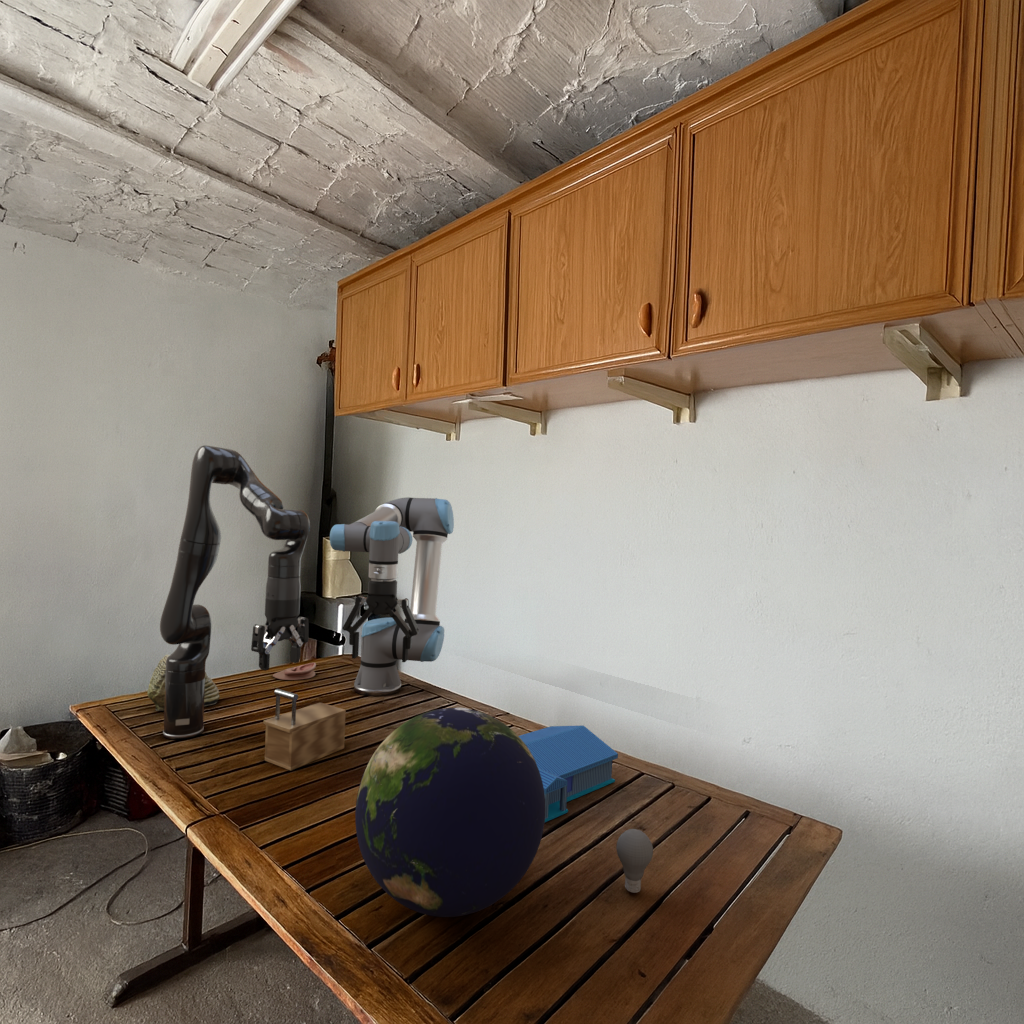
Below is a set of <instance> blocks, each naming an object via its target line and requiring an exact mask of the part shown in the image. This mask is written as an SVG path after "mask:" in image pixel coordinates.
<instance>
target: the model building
mask: <svg viewBox="0 0 1024 1024" xmlns="http://www.w3.org/2000/svg"><path fill="white" fill-rule="evenodd" d="M518 736H519V737H520V738H521V740H522V741H523V742H524V743H525V745H526V746H527V747H528V749H529V751H530V752H531V754H532V756H533V757H534V759H535V761H536V764H537V767H538V769H539V772H540V775H541V779H542V783H543V788H544V794H545V823H547V822H550V821H552V820H554V819H556V818H558V817H560V816H563V815H565V814H567V813H569V809H568V808H567V803H569V802H571V801H573V800H575V799H577V798H580V797H582V796H586V795H587V794H589V793H590V794H591V793H592V792H594V791H597V790H599V789H601V788H604V787H606V786H608V785H611V784H614V783H616V779H615V778H613V777H612V775H613V761H615V760H617V759H619V753H618V752H617V751H616V750H615V749H613V748H612V747H611V746H609V745H608V744H607V743H606V742H604V741H603V740H602V738H600V737H599V736H597V735H596V734H594V733H593V732H592V731H591V730H590V729H588V728H587V727H586V726H585V725H553V726H552V725H551V726H546V727H544V728H540V729H537V730H534V731H531V732H530V731H529V732H527V733H524V734H520V735H518Z"/></svg>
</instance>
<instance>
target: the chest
mask: <svg viewBox="0 0 1024 1024" xmlns="http://www.w3.org/2000/svg"><path fill="white" fill-rule="evenodd" d="M346 713H347V712H346ZM346 713H344V714H341V715H339V716H336V717H333V718H330V719H327V720H325V721H322V722H319V723H316V724H313V725H311V726H308V727H305V728H302V729H299V730H296V731H294V732H291V733H288V732H285V731H282V730H279V729H277V728H274V727H271V726H268V725H265V739H264V761H265V762H268V763H270V764H273V765H275V766H277V767H281V768H283V769H286V770H287V771H294V770H295V769H298V768H301V767H303V766H305V765H308V764H310V763H312V762H314V761H317V760H320V759H322V758H324V757H326V756H329V755H332V754H334V753H336V752H339V751H341V750H343V749H345V739H346Z"/></svg>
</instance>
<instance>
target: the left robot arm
mask: <svg viewBox="0 0 1024 1024" xmlns="http://www.w3.org/2000/svg"><path fill="white" fill-rule="evenodd" d="M212 484H217V485H231V486H232V487H234V488H236V489H238V490H239V492H238V496H239V501H240V503H241V505H242V506H243V508H244V509H245V510H246V511H247V512H249V513H250V514H251V515H252V516H253V517H254V518H255V520H256V522H257V524H258V526H259V529H260V531H261V533H262V534H263V536H265V537H266V538H267V539H270V540H273V541H285V543H284V545H282V547H280V548H279V549H276V550H273V551H271V552H270V553H269V555H268V560H267V578H266V584H265V602H264V616H265V618H266V619H265V623H264V624H257V623H255V624H254V625H253V627H252V635H251V647H250V650H251V652H254V653H258V668H260V670H261V671H269V670H270V660H271V658H270V657H271V654H270V652H271V650H272V648H273V647H275V646H276V645H277V643H278V642H282V641H285V640H286V641H289V642H290V644H291V645H290V654H289V655H290V658H289V661H290V662H291V663H293V664H298V663H300V659H301V650H302V647H303V645H304V644H305V643H306V644H308V642H309V634H310V633H309V631H310V630H309V629H310V628H309V626H310V625H309V618H308V617H304V616H300V614H301V613H300V610H301V591H302V589H301V561H302V556H303V554H304V550H305V547H306V545H307V541H308V537H309V534H310V532H311V531H310V530H311V522H310V518H309V516H308V514H307V512H305V511H304V510H302V509H295V508H294V509H293V508H291V509H290V508H289V509H288V508H287V509H285V508H284V503H283V501H282V500H281V498H280V497H279V496H278V495H277V494H275V493H274V492H273V491H272V490H271V489H270V488H268V487H267V486H266V485H265V484H264V483H263V482H262V481H261V480H260V479H259V477H258V476H257V475H256V473H255V472H254V471H253V469H252V468H251V466H250V465H249V464H248V462H247V461H246V459H245V458H244V456H242V454H241V453H240V452H238V451H237V450H234V449H230V448H226V447H219V446H213V445H207V444H205V445H201V446H199V447H198V448H197V450H196V451H195V453H194V455H193V460H192V463H191V469H190V480H189V490H188V499H187V506H186V510H185V511H186V512H185V517H184V522H183V527H182V531H181V534H180V539H179V545H178V550H177V556H176V562H175V566H174V571H173V575H172V580H171V584H170V587H169V591H168V594H167V596H166V600H165V604H164V606H163V610H162V613H161V616H160V621H159V632H160V636H161V638H162V641H164V642H165V643H166V644H168V645H173V646H174V645H175V646H176V645H177V646H176V648H175V650H174V651H173V652H172V653H170V654H169V655H170V656H169V657H168V658H167V660H166V674H165V705H164V710H163V730H162V737H164V738H166V739H169V740H185V739H190V738H191V739H192V738H194V737H197V736H199V735H202V734H203V732H204V730H205V729H204V727H205V725H204V722H205V721H204V718H205V706H204V693H205V672H206V664H207V663H206V662H207V659H208V657H209V654H210V649H211V648H210V647H211V639H212V617H211V614H210V612H209V610H208V609H207V608H206V607H205V606H204V605H201V604H196V603H195V599H196V596H197V594H198V591H199V590H200V587H201V586H202V584H203V583H204V581H205V580H206V578H207V577H208V575H210V573H211V571H212V570H213V568H214V566H215V564H216V562H217V559H218V556H219V551H220V547H221V541H222V532H221V529H220V526H219V523H218V521H217V518H216V515H215V514H214V512H213V509H212V506H211V491H212V490H211V489H212ZM194 603H195V604H194ZM296 629H297V630H296Z"/></svg>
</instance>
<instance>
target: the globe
mask: <svg viewBox="0 0 1024 1024" xmlns="http://www.w3.org/2000/svg"><path fill="white" fill-rule="evenodd" d="M519 736H520V735H518V734H517V733H516V732H515V731H514V730H513V729H512V728H510V726H508V725H507V724H505V723H504V722H502V721H500V720H499V719H498V718H496V717H494V716H493V715H492V716H491V715H490V714H488V713H486V712H482V711H479V710H475V709H471V708H468V707H467V708H466V707H446V708H445V707H444V708H438V709H433V710H430V711H427V712H423V713H421V714H419V715H416V716H414V717H412V718H410V719H408V720H407V721H404V723H402V724H401V725H400V726H398V727H397V728H395V729H394V730H393V731H392V732H390V734H388V735H387V737H386V738H385V739H384V740H383V741H382V742H381V743H380V744H379V746H378V747H377V748H376V749H375V751H374V753H373V754H372V756H371V757H370V759H369V761H368V763H367V766H366V768H365V770H364V772H363V774H362V777H361V780H360V782H359V786H358V791H357V796H356V801H355V811H354V812H355V813H354V815H355V816H354V818H355V820H354V821H355V832H356V837H357V843H358V847H359V850H360V854H361V856H362V859H363V861H364V863H365V866H366V868H367V869H368V871H369V872H370V874H371V876H372V877H373V879H374V881H375V882H376V883H377V884H378V885H379V887H380V888H381V889H382V890H383V891H384V892H385V893H386V894H387V895H388V896H389V897H391V899H393V900H394V901H396V902H397V903H398V904H400V905H402V906H403V907H405V908H407V909H410V911H414V912H416V913H419V914H423V915H425V916H430V917H435V918H436V917H437V918H455V917H463V916H467V915H471V914H475V913H477V912H479V911H482V910H485V909H487V908H489V907H491V906H493V905H494V904H496V903H497V902H499V901H500V900H501V899H503V898H504V897H505V896H507V895H508V893H510V892H511V891H512V890H513V889H515V887H516V886H517V885H518V884H519V882H520V881H521V880H522V879H523V878H524V876H525V875H526V873H527V872H528V870H529V868H530V867H531V865H532V864H533V862H534V859H535V857H536V855H537V853H538V850H539V848H540V845H541V841H542V838H543V833H544V829H545V824H546V822H545V794H544V788H543V783H542V779H541V775H540V772H539V769H538V767H537V764H536V761H535V759H534V757H533V756H532V754H531V752H530V751H529V749H528V747H527V746H526V745H525V743H524V742H523V741H522V740H521V738H520V737H519Z"/></svg>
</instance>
